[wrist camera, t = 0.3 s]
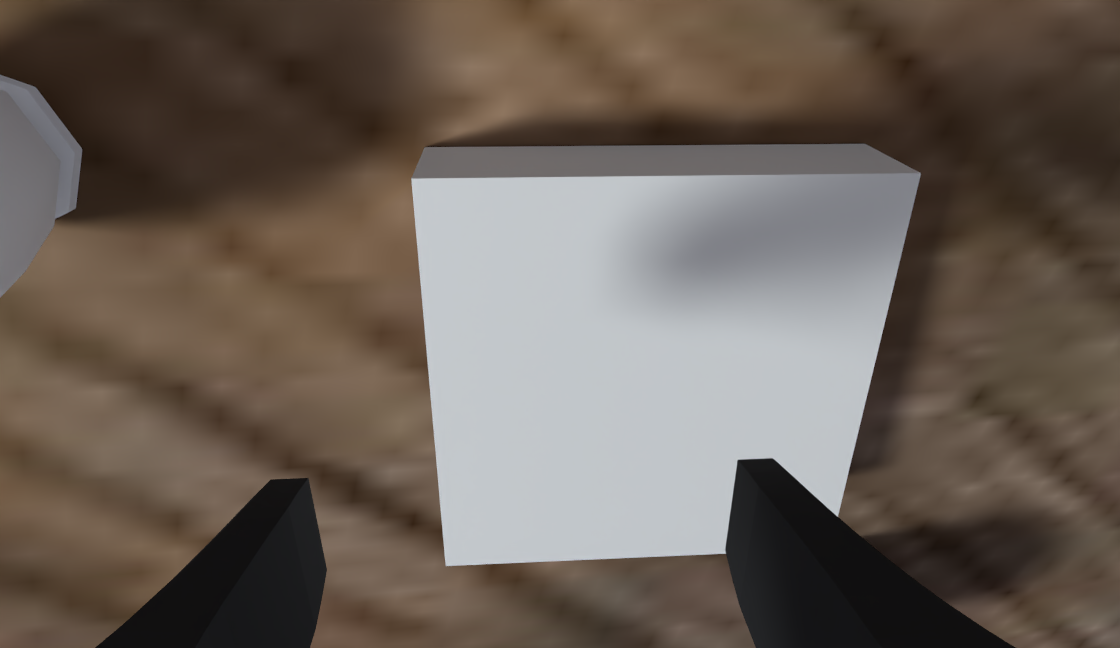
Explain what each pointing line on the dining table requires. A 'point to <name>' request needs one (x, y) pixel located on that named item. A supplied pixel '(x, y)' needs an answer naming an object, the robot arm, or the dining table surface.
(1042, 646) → the dining table surface
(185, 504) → the dining table surface
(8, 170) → the cup
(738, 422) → the base block
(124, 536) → the dining table surface
